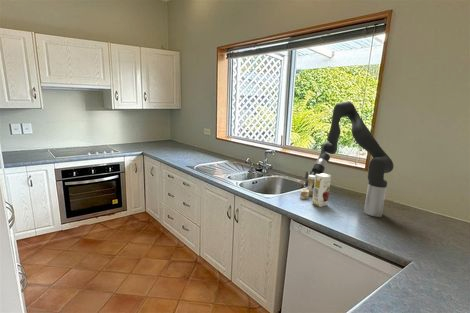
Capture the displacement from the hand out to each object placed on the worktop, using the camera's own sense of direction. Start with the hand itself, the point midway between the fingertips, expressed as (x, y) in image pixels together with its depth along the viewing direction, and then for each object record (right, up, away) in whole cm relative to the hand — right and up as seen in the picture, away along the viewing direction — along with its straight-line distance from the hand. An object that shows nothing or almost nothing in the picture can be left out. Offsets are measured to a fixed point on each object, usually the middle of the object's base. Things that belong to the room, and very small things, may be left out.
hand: (309, 186), depth 175 cm
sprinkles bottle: (+1, -6, +3) cm, 7 cm away
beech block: (-4, -7, -3) cm, 9 cm away
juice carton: (+2, -10, -13) cm, 17 cm away
